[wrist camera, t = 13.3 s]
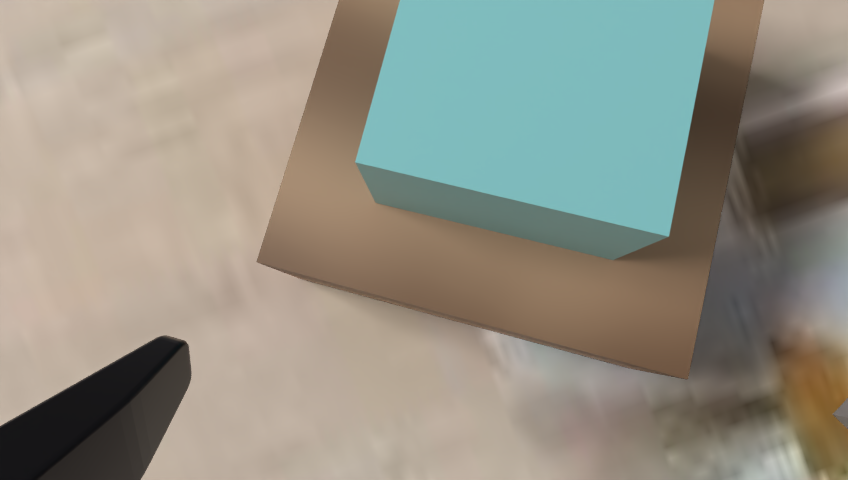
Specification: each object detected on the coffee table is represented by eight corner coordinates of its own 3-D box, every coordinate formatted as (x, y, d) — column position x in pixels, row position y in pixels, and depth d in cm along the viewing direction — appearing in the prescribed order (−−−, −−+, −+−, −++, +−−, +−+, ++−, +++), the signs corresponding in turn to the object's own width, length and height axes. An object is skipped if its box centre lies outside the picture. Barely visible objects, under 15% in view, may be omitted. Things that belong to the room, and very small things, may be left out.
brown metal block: (628, 368, 20) (687, 379, 16) (299, 278, 21) (256, 262, 16) (696, 53, 22) (769, -28, 17) (389, -20, 23) (375, -116, 18)
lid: (612, 260, 16) (669, 236, 12) (375, 203, 17) (355, 162, 13) (658, 36, 17) (725, -53, 13) (433, -13, 17) (431, -114, 14)
